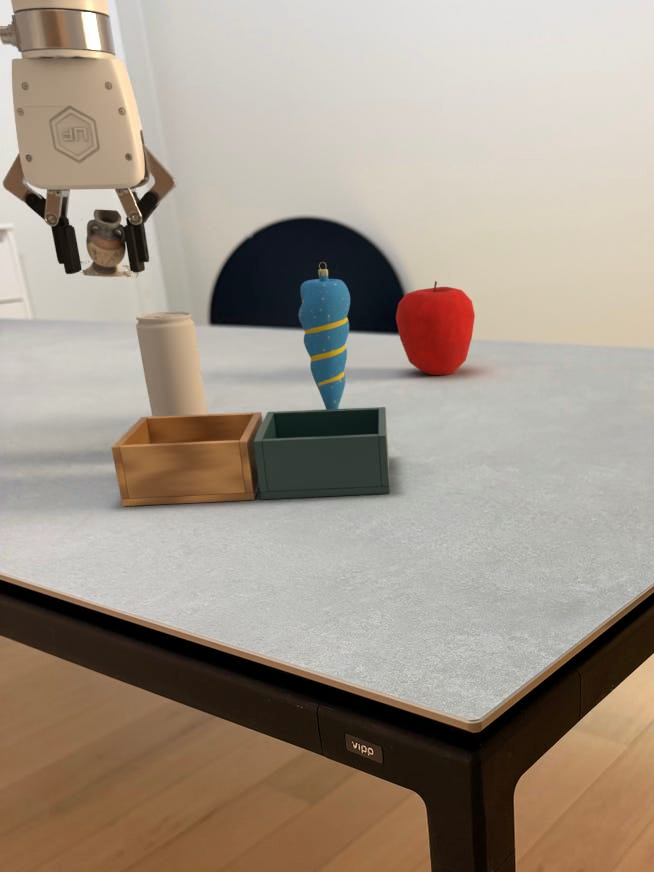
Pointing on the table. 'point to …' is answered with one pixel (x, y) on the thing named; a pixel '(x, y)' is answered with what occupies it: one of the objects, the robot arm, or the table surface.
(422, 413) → the table surface
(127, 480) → the bin
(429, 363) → the apple
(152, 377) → the beverage can
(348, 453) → the can bin
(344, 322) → the ornament
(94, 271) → the vase
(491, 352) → the table surface
